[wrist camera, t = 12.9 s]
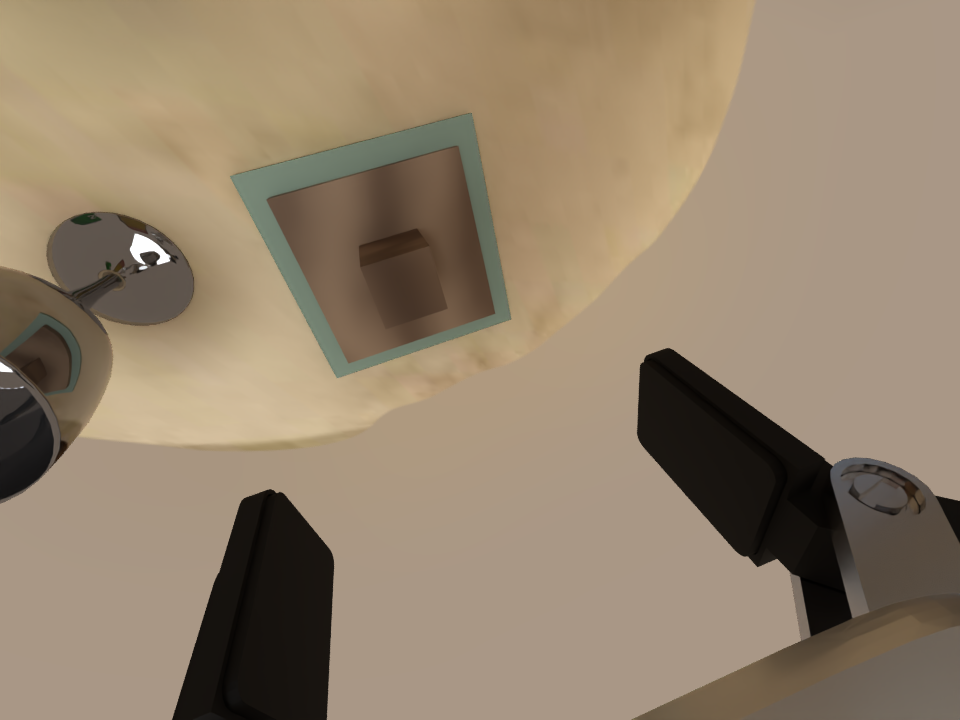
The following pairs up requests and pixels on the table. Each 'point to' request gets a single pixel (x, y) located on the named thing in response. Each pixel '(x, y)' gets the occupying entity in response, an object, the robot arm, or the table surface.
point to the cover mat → (355, 160)
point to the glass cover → (389, 251)
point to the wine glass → (75, 332)
